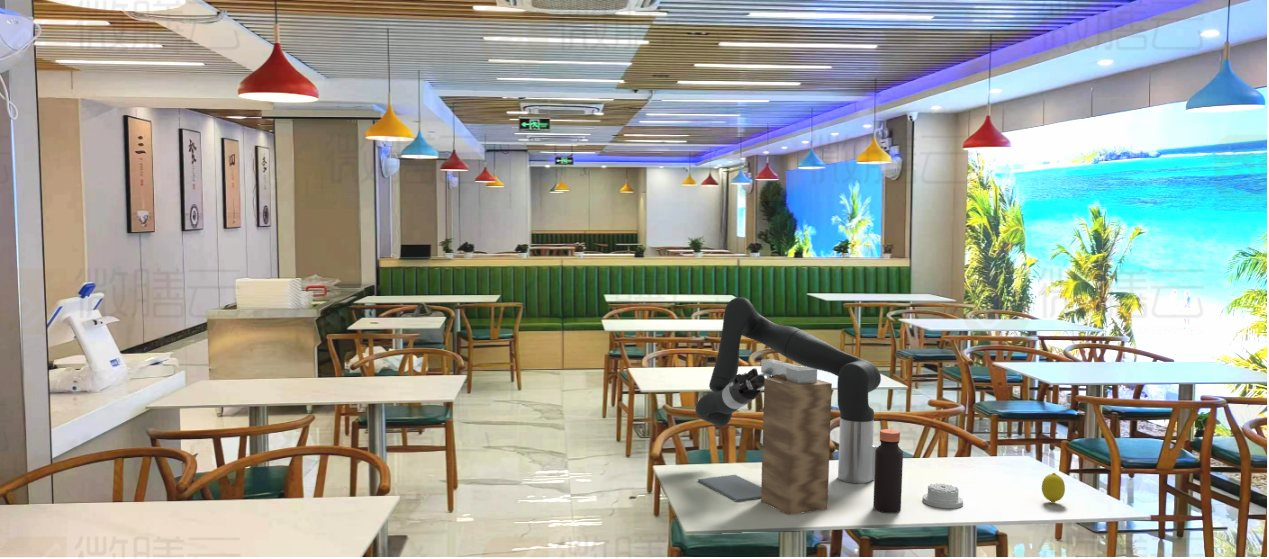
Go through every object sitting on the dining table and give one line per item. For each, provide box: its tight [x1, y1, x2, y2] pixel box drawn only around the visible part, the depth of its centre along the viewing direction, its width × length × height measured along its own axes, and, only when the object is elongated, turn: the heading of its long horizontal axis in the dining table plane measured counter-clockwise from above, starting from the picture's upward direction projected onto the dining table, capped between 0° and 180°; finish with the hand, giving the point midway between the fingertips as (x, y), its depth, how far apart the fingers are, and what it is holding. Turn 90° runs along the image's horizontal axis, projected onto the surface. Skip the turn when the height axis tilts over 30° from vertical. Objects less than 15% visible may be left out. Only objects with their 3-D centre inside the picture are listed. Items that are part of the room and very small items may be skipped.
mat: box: [697, 474, 761, 503], centre depth 258 cm, size 12×20×1 cm, turn 26°
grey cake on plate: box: [922, 483, 964, 509], centre depth 249 cm, size 10×4×10 cm
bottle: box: [872, 428, 904, 514], centre depth 242 cm, size 7×7×20 cm
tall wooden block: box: [760, 374, 833, 516], centre depth 243 cm, size 12×12×33 cm
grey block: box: [760, 358, 818, 384], centre depth 246 cm, size 6×18×3 cm, turn 26°
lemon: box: [1041, 472, 1066, 503], centre depth 250 cm, size 6×6×8 cm
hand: (769, 370), depth 253 cm, fingers open, 8 cm apart
